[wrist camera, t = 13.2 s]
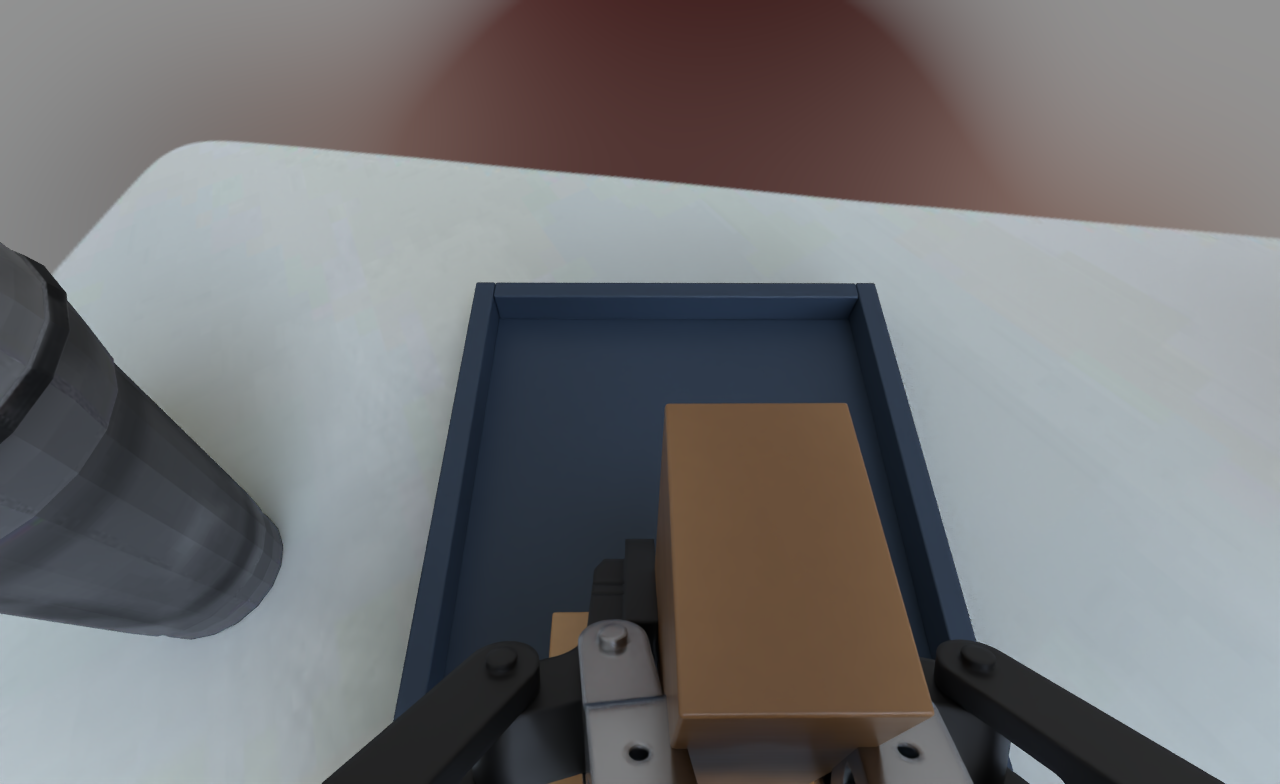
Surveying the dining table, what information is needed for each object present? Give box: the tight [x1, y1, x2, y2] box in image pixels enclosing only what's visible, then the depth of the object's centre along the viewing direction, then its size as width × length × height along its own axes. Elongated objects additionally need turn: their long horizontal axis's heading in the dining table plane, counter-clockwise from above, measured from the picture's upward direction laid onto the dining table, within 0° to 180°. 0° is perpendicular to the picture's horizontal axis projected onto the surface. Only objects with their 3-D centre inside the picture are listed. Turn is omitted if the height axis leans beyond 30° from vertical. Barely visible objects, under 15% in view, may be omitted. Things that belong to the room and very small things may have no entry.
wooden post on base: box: [548, 403, 934, 784], centre depth 12 cm, size 8×5×13 cm, turn 91°
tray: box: [393, 282, 1013, 771], centre depth 20 cm, size 17×24×2 cm
